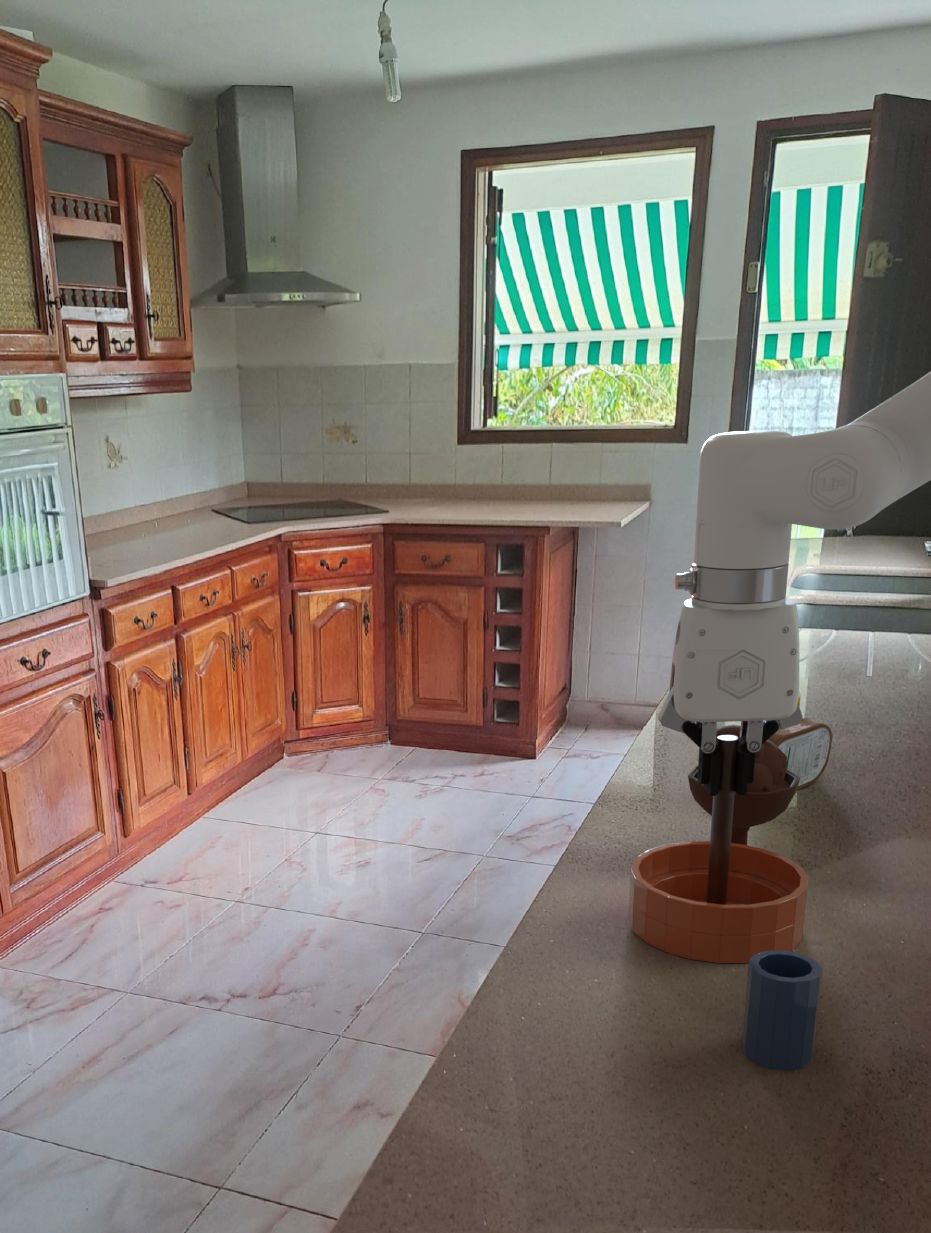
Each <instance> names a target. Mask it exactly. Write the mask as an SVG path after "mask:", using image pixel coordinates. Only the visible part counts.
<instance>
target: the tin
mask: <svg viewBox="0 0 931 1233" xmlns="http://www.w3.org/2000/svg"><path fill="white" fill-rule="evenodd" d="M833 736H834V735H833V732H832V729H831V728H830V727H829V725H827V724H826V723H825V722H820V721H818V720H814V719H812V718H810V717H803V719H802V721H801V722H800V723H798V724H795V725H792V726H790V727H787V728H784V729H780V730H778V731H777V732H776V733H775V734H774V735H772V736H771V737H770V738H769V739H768V740H769V741H771V742H773V743H774V744H775V745H776V746H777V747H778V748H779V749H780V750H781V751H782V752H783V753H784V754H785V755H786V756H787V769H788V770H789V771H791V772H792V773H794V774H796V775H797V776H799V777H801V778H800V781H799V784H798V787H797V790H796V791H798V790H801V789H802V788H805V787H808V786H810V785H812V784H814V783H815V782H816V781H818V779H819V778H820V777H821V775H822V774H823V773H824V771H825V770H826V768H827V766H828V763H829V760H830V759H829V758H830V753H831V750H832V743H833V742H832V741H833Z"/></svg>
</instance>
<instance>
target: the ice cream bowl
mask: <svg viewBox="0 0 931 1233" xmlns="http://www.w3.org/2000/svg"><path fill="white" fill-rule="evenodd" d="M740 729H741V725H738V724H729V725H722V726H720V727H719V728H717V730H716V744H717V737H718V736H721V735H732V736H736V737H738V738H740ZM687 778H688V786H689V791H690V792H691V795H692V797H693V799H694V801H695V802H696V803H697V804H698V805H699V806H700V807H701V809H703V810H704V811H705V812H706V813H707V814H709V815H710V816H711V817H712V807H713V796H709V794H708V793H707V791H706V790H705V788H704V786H703V784H699V782H698V765H696V766H694V767H693V769H692V770H691V772H690V773H689V774H688V775H687ZM800 778H801V777H799V776H797V775H796V774H794V773H792V772H791V771H789V770H788V769H787V756H786V755H785V754H784V753H783V752H782V751H781V750H780V749H779V748H778V747H777V746H776V745H775V744H774V743H773V742H771V741H769V740H767V741H766V742H764V743H763V744H762V745H761V749H760V750H759V751H758V752H756V753H755V765H754V778H753V783H747V793H746V795H743V796H740V795H739V794H737V793H736V792H735V795H734V808H733V822H732V835H731V843H736V844H743V845H747V846H749V845H748V837H749V836H748V833H749V830H750V829H751V828H753V827H756V826H761V825H764V824H767V823H768V822H770V821H773V820H775V819H776V818H778V817H779V816H780V815H782V814H783V813H784V812H785V811H786V810H787V809H788V807H789V805H790V804H791V802H792V800H793V798H794V797H795V795H796V793H797V791H798V790H797V787H798V784H799V781H800Z"/></svg>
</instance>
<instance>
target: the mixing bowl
mask: <svg viewBox="0 0 931 1233" xmlns="http://www.w3.org/2000/svg"><path fill="white" fill-rule="evenodd" d="M747 845H748V844H747ZM747 845H743V844H736V843H731V848H730V861H729V875H728V888H727V901H726V905H721V904H713V903H706V895H707V880H708V865H709V851H710V840H707V841H705V840H704V841H703V840H701V841H700V840H699V841H683V842H675V843H668V844H664V845H663V844H662V845H660V846H657V847H654V848H650V849H648V850H646V851H644V852H643V853H641V854H640V855H638V856H637V857H635V858H634V861H633V862H632V865H631V867H630V876H629V877H630V879H629V900H628V901H629V903H628V922H629V925H630V928H631V930H632V932H633V933H635V935H636V936H638V938H640V939H641V940H642V941H643V942H645V943H646V944H648V945H650V946H652V947H654V948H656V949H658V950H660V951H663V952H665V953H668V954H670V955H674V956H677V957H682V958H685V959H687V960H694V961H701V962H707V963H715V964H749V961H750V959H751V957H752V956H753V955H755V954H757V953H760V952H763V951H771V950H783V951H792V952H793V951H794V950H795V948H797V947H798V945H800V944H801V943H802V941H803V935H804V925H805V916H806V907H807V897H808V889H809V888H808V887H809V876H808V874H807V873H806V872H805V870H804V869H803V867H802V866H801V865H799V864H798V863H796V862H795V861H793V860H791V859H789V858H788V857H786V856H784V855H781V854H778V853H776V852H773V851H770V850H768V849H764V848H762V847H761V848H760V847H756V846H751V845H748V846H747Z"/></svg>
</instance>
